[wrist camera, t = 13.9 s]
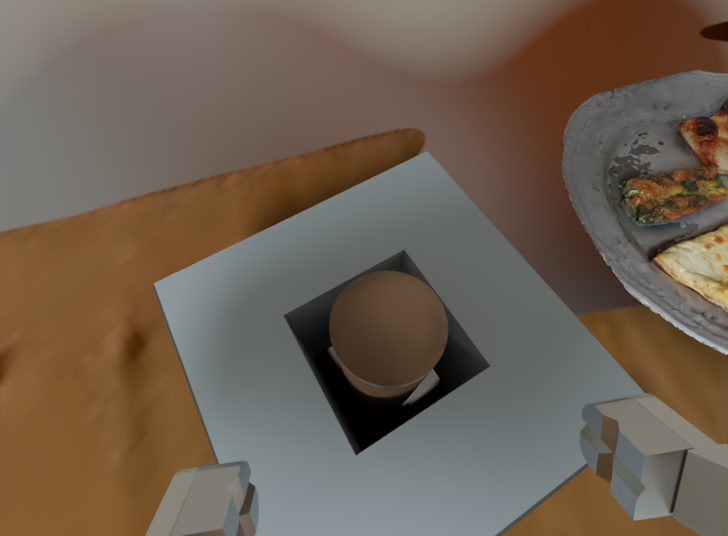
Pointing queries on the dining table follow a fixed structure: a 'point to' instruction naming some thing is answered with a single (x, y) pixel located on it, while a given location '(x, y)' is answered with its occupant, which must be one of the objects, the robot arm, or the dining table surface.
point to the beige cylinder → (387, 336)
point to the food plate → (658, 194)
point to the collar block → (455, 367)
